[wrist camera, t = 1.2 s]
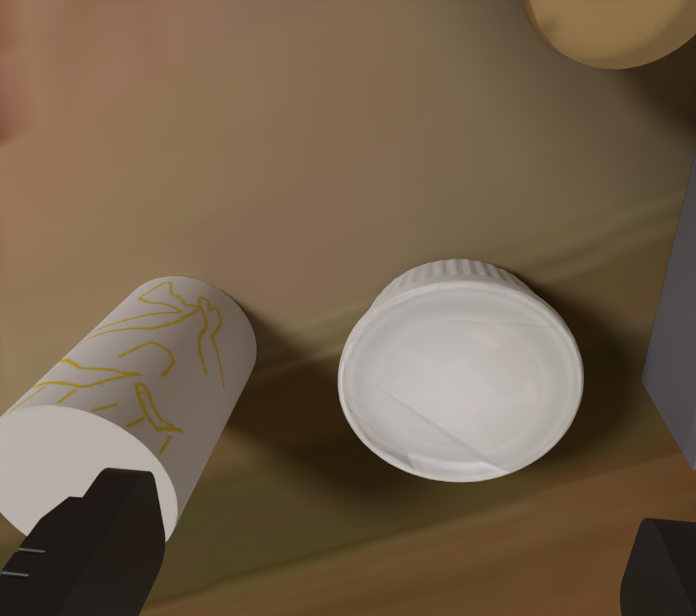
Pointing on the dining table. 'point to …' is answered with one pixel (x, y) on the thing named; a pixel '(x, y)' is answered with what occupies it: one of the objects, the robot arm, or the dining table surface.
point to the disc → (613, 29)
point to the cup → (130, 401)
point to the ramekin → (460, 373)
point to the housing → (677, 335)
